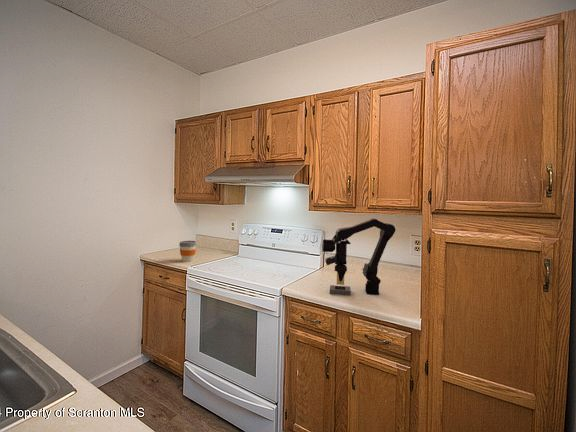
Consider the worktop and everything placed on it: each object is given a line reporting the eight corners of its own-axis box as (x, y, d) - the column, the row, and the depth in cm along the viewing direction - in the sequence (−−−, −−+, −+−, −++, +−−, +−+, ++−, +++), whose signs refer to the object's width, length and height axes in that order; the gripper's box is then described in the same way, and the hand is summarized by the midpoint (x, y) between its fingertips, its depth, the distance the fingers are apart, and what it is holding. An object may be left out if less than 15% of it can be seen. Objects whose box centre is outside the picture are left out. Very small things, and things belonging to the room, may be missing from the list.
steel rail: (350, 291, 160) (350, 286, 160) (350, 295, 153) (350, 291, 153) (330, 289, 163) (330, 285, 162) (329, 294, 155) (329, 289, 155)
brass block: (344, 282, 159) (344, 270, 159) (344, 284, 155) (344, 272, 155) (336, 282, 160) (337, 269, 159) (336, 284, 156) (336, 271, 155)
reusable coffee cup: (183, 263, 219) (183, 243, 217) (177, 260, 228) (176, 241, 227) (199, 261, 227) (198, 242, 226) (192, 258, 236) (192, 240, 235)
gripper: (327, 248, 167) (326, 274, 168) (325, 254, 148) (324, 284, 150) (346, 249, 165) (346, 275, 166) (347, 255, 146) (346, 285, 148)
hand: (340, 280), depth 157 cm, fingers closed on brass block, 4 cm apart
